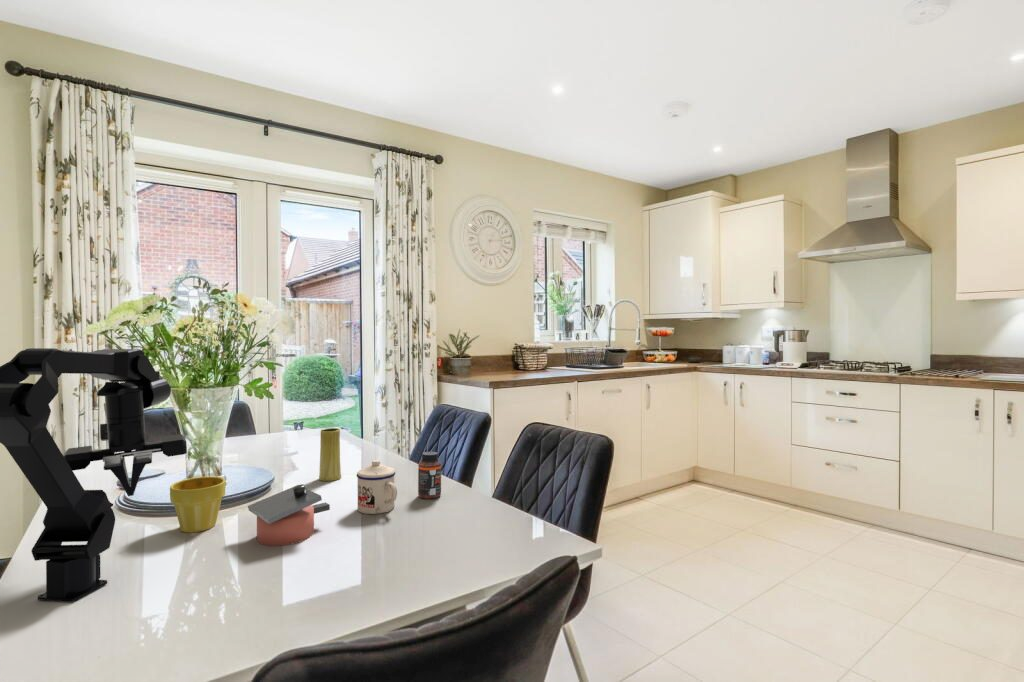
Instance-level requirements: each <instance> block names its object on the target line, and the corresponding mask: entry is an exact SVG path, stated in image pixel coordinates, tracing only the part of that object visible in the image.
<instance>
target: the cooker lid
mask: <svg viewBox="0 0 1024 682" xmlns="http://www.w3.org/2000/svg"><path fill="white" fill-rule="evenodd" d="M321 501H323V499H322V495H320V494H318V493H316V492H314V491H312V490H310V489H308V488H307V487H306V484H302V483H301V484H297V485H295V486H293V487H290V488H287V489H285V490H282V491H280V492H278V493H276V494H273V495H271V496H268V497H266V498H263V499H262V500H259V501H256V502H254V503H251V504H250V505H247V509H248V511H249V512H250V513H252V514H253V515H255V516H256V517H257V516H258V517H259V518H261V519H262V520H264V521H265V522H267V523H268V524H270V523H272V522H275V521H277V520H279V519H281V518H283V517H286V516H288V515H290V514H292V513H295V512H297V511H299V510H301V509H303V508H306V507H308V506H310V505H311V506H312V505H315V504H318V503H319V502H321Z"/></svg>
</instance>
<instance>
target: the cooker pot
mask: <svg viewBox="0 0 1024 682" xmlns="http://www.w3.org/2000/svg"><path fill="white" fill-rule="evenodd" d="M330 506H331V505H330V503H327V502H322V503H316V504H312V505H310V506H308V507H306V508H303V509H301V510H299V511H297V512H295V513H292V514H290V515H288V516H286V517H283V518H281V519H279V520H277V521H275V522H272V523H270V524H268V523H267V522H265V521H264V520H262V519H261V518H259V517H258V516H256V541H257V543H259V544H261V545H264V546H270V547H272V546H273V547H275V546H277V547H279V546H287V545H292V543H294V544H297V543H300V542H299V541H301V542H303V541H305V539H306V540H308V539H309V538H311V537H312V536H313V535H314V533H315V532H314V531H315V518H314V517H315V514H318V513H323V512H326V511H330ZM310 536H311V537H310ZM307 538H308V539H307ZM302 540H303V541H302ZM296 542H297V543H296Z"/></svg>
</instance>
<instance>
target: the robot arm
mask: <svg viewBox="0 0 1024 682" xmlns="http://www.w3.org/2000/svg"><path fill="white" fill-rule="evenodd" d="M145 354H146V352H145V351H144V350H143V349H139V348H104V349H99V350H94V351H92V352H90V351H75V350H60V349H58V348H53V347H52V348H51V347H50V348H46V347H45V348H42V347H41V348H40V347H38V348H34V347H33V348H31V347H30V348H25V349H23V350H20V351H19V352H18V353H17V354H16V355H15V356H13V357H12V359H11V360H10V361H8V362H6V363H4V364H2V365H0V444H2V445H3V446H4V448H5V449H6V450H7V452H8V454H10V456H11V458H12V459H13V460H14V462H15V463H16V465H17V466H18V468H19V469H20V471H21V473H22V474H23V475H24V477H25V478H26V479H27V481H28V482H29V483H30V485H31V486H32V488H33V490H34V491H35V492H36V494H37V496H39V498H40V499H41V501H42V502H43V504H44V505H45V507H46V511H45V514H44V518H43V520H42V524H43V527H44V528H43V530H42V531H41V533H40V535H39V536H38V538H37V540H36V542H35V543H34V545H33V547H32V548H31V554H32V558H33V559H34V561H42V560H44V561H45V569H46V570H45V571H46V572H45V574H46V576H45V577H46V578H45V579H46V580H45V581H46V582H45V583H46V584H45V586H46V589H45V590H46V592H43V593H40V594H38V596H37V600H39V601H51V602H52V601H53V602H64V603H65V602H66V603H72V602H75V601H77V600H79V599H81V598H83V597H85V596H86V595H88V594H91V593H93V592H94V591H96V590H98V589H99V588H102V587H103V586H106V585H107V584H108V580H107V579H101V554H102V553H103V552H105V551H106V550H109V549H110V546H111V544H112V543H111V542H112V538H113V534H114V529H115V524H116V515H115V512H114V510H113V508H112V507H113V506H114V503H112V502H111V501H110V500H109V498H108V495H107V493H106V492H105V491H104V490H103V489H84V487H83V486H82V484H81V483H80V480H79V479H78V478H77V476H76V474H75V473H74V471H79V470H85V469H86V468H88V466H90V464H91V462H97V461H102V463H103V470H104V471H110V472H112V474H113V475H114V476H115V477H116V478H117V480H118V481H119V482H120V485H121V486H122V488H123V489H124V491H125V493H126V495H127V496H128V497H132V496H134V495H135V492H136V488H137V485H138V483H139V479H140V478H141V474H142V473H143V471H144V468H145V466H146V465H151V464H152V463H153V453H154V454H155V453H161V452H162V454H163V455H165V456H166V457H175V456H183V455H185V454H187V452H188V449H187V447H188V445H187V440H186V437H185V435H183V434H180V433H179V434H174V435H173V434H171V435H166V436H165V435H164V436H161V441H157V442H149V443H147V432H146V431H147V429H146V423H145V409H148V408H150V407H153V406H155V405H158V404H160V403H163V402H165V401H166V400H168V399H169V397H170V396H171V394H172V393H171V392H172V387H171V386H170V383H169V382H168V381H167V380H166V379H165V378H163V377H161V373H160V371H159V370H156V368H154V366H153V364H152V363H151V361H150V359H149V357H147V355H145ZM62 374H75V375H76V374H83V375H84V374H85V375H90V376H91V377H92V378H95V379H100V380H103V381H106V382H105V383H104V385H103V386H102V387H101V388H99V390H98V391H97V393H96V396H97V397H104V401H105V403H104V404H105V413H106V415H105V417H106V423H100V424H99V425H100V426H99V436H100V437H99V438H100V441H102V442H104V441H107V444H108V445H107V446H108V448H105V449H97V450H93V447H92V445H86V446H79V447H78V446H77V447H71V448H68V449H67V450H66V451H65V452H63V453H62V451H61V449H60V448H59V447H58V445H57V442H55V440H54V438H53V437H52V435H51V433H50V431H49V430H48V428H47V425H48V421H49V419H50V417H51V416H50V415H51V413H52V411H51V407H50V403H51V402H52V401H53V400H54V399H55V398H56V396H57V395H58V394H59V378H60V377H61V375H62ZM30 376H40V377H39V378H38V379H37V381H36V382H35V383H29V382H23V381H25V380H26V379H28V378H29V377H30ZM131 456H132V470H131V479H129V473H128V470H127V466H126V465H127V464H126V458H125V457H131ZM75 542H76V543H77V542H78V543H79V542H80V543H81V542H86V544H62V543H75Z"/></svg>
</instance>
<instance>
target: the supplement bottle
mask: <svg viewBox="0 0 1024 682" xmlns="http://www.w3.org/2000/svg"><path fill="white" fill-rule="evenodd" d="M421 455H422V456H421V458H422V460H420V461H419V462H418V466H417V467H418V471H417V472H418V473H417V476H418V478H417V481H418V483H417V493H418V494H417V495H418V497H419V498H421V499H425V500H427V499H428V500H430V499H437V498H439V497H440V496H441V495H442V461H440V460H439V459H438V457H439V456H438V455H439V453H438V452H436V451H425V452H422V453H421Z"/></svg>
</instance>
